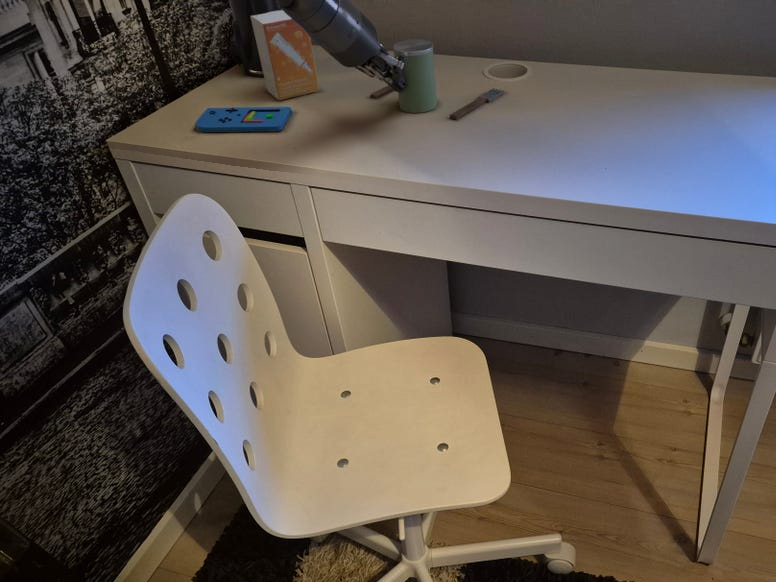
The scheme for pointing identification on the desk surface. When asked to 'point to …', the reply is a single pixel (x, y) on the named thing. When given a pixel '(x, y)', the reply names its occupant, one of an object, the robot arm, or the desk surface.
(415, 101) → the can
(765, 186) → the desk surface
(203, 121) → the handheld gaming device
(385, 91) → the spoon
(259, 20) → the small box
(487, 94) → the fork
